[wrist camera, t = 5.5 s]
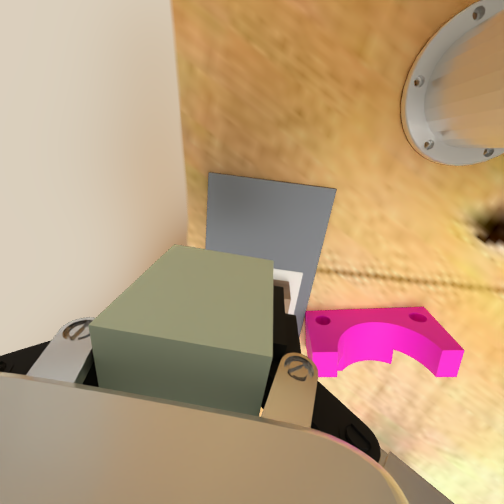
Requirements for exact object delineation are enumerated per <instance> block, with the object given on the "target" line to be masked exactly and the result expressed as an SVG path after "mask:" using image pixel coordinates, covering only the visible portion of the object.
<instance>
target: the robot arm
mask: <svg viewBox="0 0 504 504" xmlns="http://www.w3.org/2000/svg"><path fill="white" fill-rule="evenodd" d="M472 16H473V17H472ZM414 81H416V82H417V85H416V86H415V85H414ZM401 119H402V125H403V130H404V132H405V134H406V137H407V139H408V141H409V143H410V144H411V145H412V147H413V148H414V149H415V150H416V151H417V152H418V153H419V154H420V155H422V156H423V157H424V158H426V159H428V160H430V161H432V162H435V163H439V164H444V165H454V166H463V165H473V164H477V163H481V162H485V161H487V160H490V159H492V158H495V157H497V156H499V155H501V154H503V153H504V0H480V1H478V2H476V3H474V4H472V5H470V6H469V7H467V8H466V9H464V10H463V11H461V12H460V13H458V14H457V15H456V16H454V17H453V18H452V19H451V20H449V21H448V22H447V23H446V24H444V25H443V26H442V27H441V28H440V29H439V30H438V31H437V32H436V33H435V34H434V35H433V36H432V37H431V38H430V39H429V41H428V42H427V43H426V45H425V46H424V48H423V49H422V50H421V52H420V53H419V54H418V56H417V58H416V60H415V62H414V64H413V66H412V67H411V69H410V71H409V74H408V77H407V80H406V83H405V86H404V90H403V95H402V100H401ZM425 142H426V146H425V147H424V144H425ZM94 319H95V318H90V317H86V318H80V319H76V320H73V321H71V322H69V323H67V324H66V325H64V326H63V327H62V328H61V329H60V330H59V331H58V333H57V334H56V335H55V337H54V338H53V339H52V340H51V341H48V342H44V343H41V344H38V345H35V346H31V347H28V348H25V349H21V350H18V351H15V352H12V353H8V354H5V355H2V356H0V504H454V503H453V502H452V501H451V500H449V499H448V498H447V497H446V496H444V495H443V494H442V493H441V492H439V491H438V490H437V489H436V488H435V487H433V486H432V485H431V484H430V483H428V482H427V481H426V480H425V479H424V478H422V477H421V476H420V475H419V474H417V473H416V472H415V471H414V470H412V469H411V468H410V467H409V466H408V465H406V464H405V463H404V462H403V461H401V460H400V459H399V458H398V457H397V456H395V455H394V454H393V453H392V452H389V453H388V454H387V453H386V452H385V451H384V450H382V449H381V448H380V446H379V443H378V440H377V438H376V437H375V435H374V434H373V432H372V431H371V430H370V429H369V428H368V427H367V426H366V425H365V424H364V423H363V422H362V421H361V420H360V419H359V418H358V417H357V416H356V415H354V414H353V413H352V412H351V411H350V410H349V409H348V408H347V407H346V406H345V405H343V404H342V403H341V402H340V401H339V400H338V399H337V398H336V397H335V396H334V395H333V394H331V393H330V392H329V391H328V390H327V389H326V388H325V387H324V386H323V385H322V384H321V383H319V382H318V381H317V380H318V369H317V367H316V365H315V364H314V362H313V361H312V360H311V359H309V358H308V357H307V356H305V355H303V354H301V349H300V342H299V334H298V326H297V319H296V315H293V314H287V313H285V303H284V288H283V287H280V286H274V285H273V358H272V362H271V366H270V370H269V374H268V379H267V383H266V387H265V391H264V396H263V400H262V404H261V407H262V408H263V409H264V410H263V413H262V416H261V417H258V416H254V415H248V414H243V413H238V412H232V411H227V410H221V409H216V408H211V407H205V406H200V405H195V404H189V403H184V402H178V401H173V400H167V399H162V398H156V397H151V396H145V395H139V394H134V393H128V392H123V391H117V390H111V389H106V388H100V387H99V385H98V379H97V373H96V367H95V362H94V356H93V350H92V344H91V338H90V332H89V327H88V325H89V324H90V323H91V322H92V321H93V320H94Z"/></svg>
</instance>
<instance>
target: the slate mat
mask: <svg viewBox="0 0 504 504" xmlns="http://www.w3.org/2000/svg"><path fill="white" fill-rule="evenodd" d="M336 190H337V189H333V188H325V187H318V186H310V185H302V184H295V183H287V182H279V181H272V180H264V179H257V178H249V177H241V176H234V175H226V174H219V173H211V172H209V177H208V202H207V227H206V250H212V251H218V252H224V253H230V254H236V255H242V256H248V257H255V258H261V259H267V260H273V261H274V268H273V279H275V280H282V281H288V282H289V286H290V296H291V301H290V306H289V311H288V314H293V315H296V319H297V326H298V334H299V336H300V332H301V328H302V324H303V320H304V316H305V312H306V308H307V304H308V300H309V297H310V293H311V289H312V285H313V281H314V277H315V273H316V269H317V265H318V261H319V257H320V253H321V249H322V245H323V241H324V237H325V233H326V229H327V225H328V221H329V217H330V213H331V210H332V206H333V202H334V198H335V194H336Z"/></svg>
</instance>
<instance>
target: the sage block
mask: <svg viewBox="0 0 504 504" xmlns="http://www.w3.org/2000/svg"><path fill="white" fill-rule="evenodd" d="M273 268H274V261H273V260H267V259H261V258H255V257H248V256H242V255H236V254H230V253H224V252H218V251H212V250H206V249H200V248H194V247H188V246H181V245H173V246H172V247H171V248H170V249H169V250H168V251H167V252H166V253H165V254H164V255H162V256H161V257H160V258H159V259H158V260H157V261H156V262H155V263H154V264H153V265H152V266H151V267H150V268H149V269H148V270H146V271H145V272H144V273H143V274H142V275H141V276H140V277H139V278H138V279H137V280H136V281H135V282H134V283H133V284H131V285H130V286H129V287H128V288H127V289H126V290H125V291H124V292H123V293H122V294H121V295H120V296H119V297H118V298H116V299H115V300H114V301H113V302H112V303H111V304H110V305H109V306H108V307H107V308H106V309H105V310H104V311H103V312H101V313H100V314H99V315H98V317H96V318H95V319H94V320H93V321H92V322H91V323H90V324H89V325H88V327H89V332H90V338H91V344H92V350H93V356H94V362H95V367H96V373H97V379H98V385H99V387H100V388H106V389H111V390H117V391H123V392H128V393H134V394H139V395H145V396H151V397H156V398H162V399H167V400H173V401H178V402H184V403H189V404H195V405H200V406H205V407H211V408H216V409H221V410H227V411H232V412H238V413H243V414H248V415H254V416H258V417H259V413H260V408H261V404H262V400H263V396H264V391H265V387H266V383H267V379H268V374H269V370H270V366H271V362H272V358H273Z"/></svg>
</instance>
